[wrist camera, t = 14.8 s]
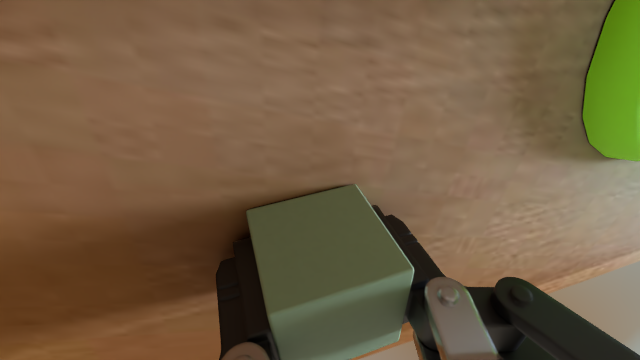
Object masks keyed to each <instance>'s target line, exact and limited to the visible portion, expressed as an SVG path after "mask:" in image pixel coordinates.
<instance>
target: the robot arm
mask: <svg viewBox="0 0 640 360" xmlns="http://www.w3.org/2000/svg"><path fill="white" fill-rule="evenodd" d="M371 207H372V208H373V210H374V211H375V212H376V214H377V215H378V217H379V218H380V220H381V221H382V223H383V224H384V225H385V227H386V228H387V230H388V231H389V233H390V234H391V236H392V237H393V238H394V240H395V241H396V243H397V244H398V246H399V247H400V249H401V250H402V252H403V253H404V254H405V256H406V257H407V259H408V260H409V262H410V263H411V265H412V266H413V268H414V275H413V279H412V284H411V288H410V293H409V297H408V301H407V306H406V310H405V315H404V319H403V324H404V323H406V322H410V324H411V326H412V327H413V329H414V331H413V339H414V343H415V346H416V350H417V353H418V357H419V360H640V355H638V354H637V353H635V352H634V351H632V350H631V349H629V348H628V347H626V346H625V345H623V344H622V343H620V342H619V341H617V340H616V339H614V338H612V337H611V336H609V335H608V334H606V333H605V332H603V331H602V330H600V329H599V328H597V327H596V326H594V325H593V324H591V323H589V322H588V321H587V320H585V319H584V318H582V317H581V316H579V315H578V314H576V313H574V312H573V311H571V310H570V309H568V308H567V307H565V306H564V305H562V304H561V303H559V302H558V301H556V300H555V299H553V298H552V297H550V296H549V295H547V294H546V293H544V292H543V291H541V290H540V289H538V288H537V287H535V286H534V285H532V284H530V283H529V282H527V281H525V280H523V279H520V278H516V277H505V278H502V279H500V280H499V281H498V282H497V284H496V286H495V287H466V286H463V285H462V284H461V283H459V282H458V281H456V280H454V279H451V278H447V277H446V276H445V275H444V274H443V273H442V272H441V271H440V269H439V268H438V267H437V266H436V264H435V263H434V262H433V260H432V259H431V258H430V256H429V255H428V254H427V253H426V251H425V250H424V249H423V247H422V246H421V245H420V243H418V242H417V239H416V238H415V237H414V236H413V234H411V232H410V230H409V229H408V228H407V226H406V225H405V224H404V223H403V222H402V221H401V220H399V219H398V218H396V217H395V216H393V215H392V214H391V215H388V216H384V214H383V213H382V212H381V210H380V209H379V207H378V206H376V205H373V206H371ZM233 248H234V255H235V257H234V258H230V259H227V260H223V261H221V262H220V265H219V268H218V270H217V273H216V285H217V297H218V310H219V323H220V336H221V354H220V358H219V360H279V357H278V354H277V350H276V346H275V343H274V339H273V335H272V332H271V328H270V324H269V320H268V317H267V312H266V307H265V303H264V298H263V293H262V288H261V283H260V278H259V273H258V269H257V264H256V259H255V254H254V249H253V244H252V239H251V238H247V239H243V240H239V241H236V242H233Z"/></svg>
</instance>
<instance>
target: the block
mask: <svg viewBox="0 0 640 360" xmlns="http://www.w3.org/2000/svg"><path fill="white" fill-rule="evenodd" d="M246 215H247V220H248V225H249V230H250V235H251V239H252V244H253V249H254V254H255V259H256V264H257V269H258V273H259V278H260V283H261V288H262V293H263V298H264V303H265V307H266V312H267V317H268V320H269V324H270V328H271V332H272V335H273V339H274V343H275V346H276V350H277V354H278V357H279V360H349V359H352V358H355V357H357V356H360V355H363V354H365V353H368V352H370V351H373V350H376V349H378V348H381V347H384V346H386V345H389V344H392V343H394V342H397V341H398V340H399V337H400V332H401V328H402V324H403V319H404V315H405V310H406V306H407V301H408V297H409V293H410V288H411V284H412V279H413V275H414V268H413V266H412V265H411V263H410V262H409V260H408V259H407V257H406V256H405V254H404V253H403V252H402V250H401V249H400V247H399V246H398V244H397V243H396V241H395V240H394V238H393V237H392V236H391V234H390V233H389V231H388V230H387V228H386V227H385V225H384V224H383V223H382V221H381V220H380V218H379V217H378V215H377V214H376V212H375V211H374V210H373V208H372V207H371V205H370V204H369V202H368V201H367V199H366V198H365V196H364V195H363V194H362V192H361V191H360V189H359V188H358V186H357V185H356V184H352V185H348V186H344V187H340V188H336V189H332V190H328V191H324V192H320V193H315V194H311V195H307V196H303V197H299V198H295V199H291V200H287V201H283V202H279V203H274V204H270V205H266V206H262V207H258V208H254V209H250V210H247V212H246Z"/></svg>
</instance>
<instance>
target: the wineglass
mask: <svg viewBox="0 0 640 360" xmlns="http://www.w3.org/2000/svg"><path fill="white" fill-rule="evenodd" d="M582 118H583V121H584V125H585V129H586V132H587V136H588V140H589V143H590V144H591V145H592V146H593V147H594V148H596V149H597V150H598V151H599V152H600V153H601V154H603V155H604V156H605V157H609V158H617V159H624V160H631V161H640V0H615V2H614V4H613V6H612V8H611V10H610V12H609V14H608V16H607V18H606V21H605V24H604V27H603V30H602V33H601V36H600V39H599V42H598V45H597V48H596V51H595V54H594V57H593V60H592V63H591V66H590V69H589V72H588V75H587V79H586V89H585V98H584V107H583V117H582Z"/></svg>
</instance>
